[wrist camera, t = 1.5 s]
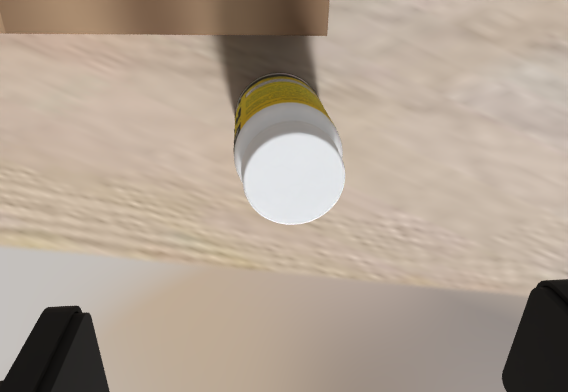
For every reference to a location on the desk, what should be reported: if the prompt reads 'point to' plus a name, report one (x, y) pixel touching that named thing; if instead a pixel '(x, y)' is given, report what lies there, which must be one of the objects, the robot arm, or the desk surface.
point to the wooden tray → (165, 17)
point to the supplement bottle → (287, 150)
